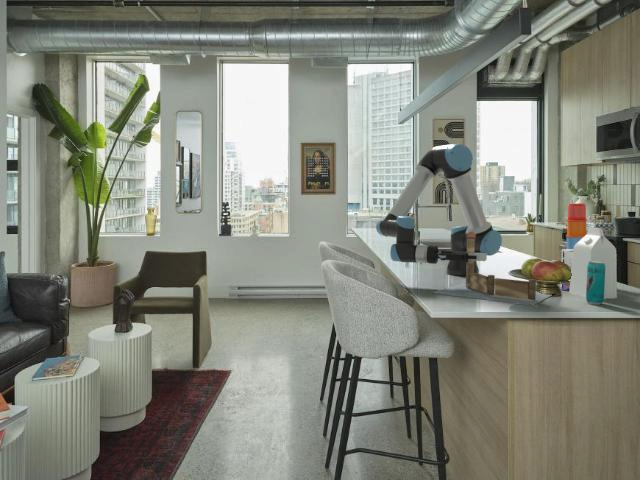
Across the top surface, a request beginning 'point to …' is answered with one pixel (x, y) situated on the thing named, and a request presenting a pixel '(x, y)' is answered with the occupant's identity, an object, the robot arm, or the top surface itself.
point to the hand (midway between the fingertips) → (485, 257)
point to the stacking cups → (576, 224)
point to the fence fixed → (512, 288)
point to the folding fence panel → (472, 278)
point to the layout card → (472, 293)
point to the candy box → (567, 259)
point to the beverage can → (595, 282)
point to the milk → (593, 250)
